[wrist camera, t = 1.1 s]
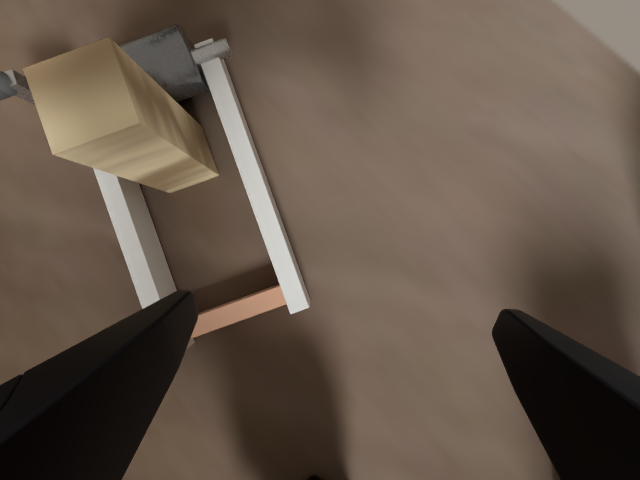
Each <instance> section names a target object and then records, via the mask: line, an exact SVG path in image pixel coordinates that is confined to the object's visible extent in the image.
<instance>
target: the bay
mask: <svg viewBox="0 0 640 480" xmlns="http://www.w3.org/2000/svg"><path fill="white" fill-rule="evenodd" d="M119 47H120V48H121V49H122V50H123V51H124V52H125V53H126V54H127V55H128V56H129V57H130V58H131V59H133V60H134V61H135V62H136V63H137V64H138V65H139V66H140V67H141V68H142V69H143V70H144V71H145V72H146V73H147V74H148V75H149V76H150V77H151V78H152V79H153V80H154V81H155V82H156V83H157V84H158V85H159V86H160V87H161V88H162V89H163V90H165V91H166V92H167V93H168V94H169V95H170V96H171V97H172V98H173V99H174V100H175V101H176V102H179V101H182V100H184V99H187V98H190V97H193V96H195V95H198V94H201V93H203V92H206V91H209V90H210V91H211V94H212V97H213V100H214V102H215V105H216V108H217V111H218V114H219V116H220V119H221V122H222V125H223V128H224V130H225V133H226V136H227V139H228V141H229V144H230V147H231V150H232V153H233V155H234V158H235V161H236V164H237V167H238V169H239V172H240V175H241V178H242V181H243V183H244V186H245V189H246V192H247V194H248V197H249V200H250V203H251V206H252V208H253V211H254V214H255V217H256V220H257V222H258V225H259V228H260V231H261V234H262V236H263V239H264V242H265V245H266V248H267V250H268V253H269V256H270V259H271V261H272V264H273V267H274V270H275V273H276V275H277V278H278V281H279V284H277V285H275V286H272V287H269V288H266V289H264V290H261V291H258V292H255V293H253V294H250V295H247V296H244V297H241V298H239V299H236V300H233V301H230V302H228V303H225V304H222V305H219V306H217V307H214V308H211V309H208V310H205V311H203V312H200V313H198V320H197V323H196V325H195V328H194V330H193V333H192V335H191V338H190V340H189V343H188V346H187V348H188V347H190V346H191V345H192V344H193V343H195V341H194V337H197V336H200V335H202V334H205V333H208V332H211V331H214V330H216V329H219V328H222V327H225V326H227V325H230V324H233V323H236V322H238V321H241V320H244V319H247V318H250V317H252V316H255V315H258V314H261V313H263V312H266V311H269V310H272V309H275V308H277V307H280V306H283V305H286V304H287V306H288V309H289V312H290V314H293V313H296V312H299V311H301V310H304V309H307V308H309V306H310V301H311V300H310V298H309V295H308V292H307V289H306V287H305V284H304V281H303V278H302V275H301V273H300V270H299V267H298V264H297V262H296V259H295V256H294V253H293V250H292V248H291V245H290V242H289V239H288V237H287V234H286V231H285V228H284V225H283V223H282V220H281V217H280V214H279V211H278V209H277V206H276V203H275V200H274V198H273V195H272V192H271V189H270V186H269V184H268V181H267V178H266V175H265V173H264V170H263V167H262V164H261V161H260V159H259V156H258V153H257V150H256V148H255V145H254V142H253V139H252V136H251V134H250V131H249V128H248V125H247V123H246V120H245V117H244V114H243V111H242V109H241V106H240V103H239V100H238V98H237V95H236V92H235V89H234V86H233V84H232V81H231V78H230V75H229V73H228V70H227V67H226V64H225V61H224V59H225V58H228V57H231V56H233V54H232V51H231V49H230V46H229V44H228V42H227V39H226V37H225V38H222V39H219V40H217V41H213V39H212V38H211V39H208V40H206V41H203V42H200V43H197V44H195V45H194V46H193V44H192V42H191V41H190V39H189V37H188V36H187V34H186V32H185V31H184V29H183V28H182V27H181V26H180V25H179V24H176V25H173V26H170V27H168V28H165V29H162V30H160V31H157V32H154V33H151V34H149V35H146V36H143V37H140V38H138V39H135V40H132V41H130V42H127V43H124V44H121V45H119ZM194 47H195V48H194ZM14 95H16V96H18V97H20V98H22V99H24V100H26V101H28V102H30V103H32V104H34V105H35V102H34V99H33V96H32V93H31V90H30V88H29V85H28V82H27V79H26V77H25V76H23V75H21V74H19V73H18V72H16V71H14V70H12V69H11V70H9V71H6V72H1V71H0V100H3V99H6V98H9V97H11V96H14ZM93 169H94V172H95V175H96V178H97V181H98V183H99V186H100V189H101V192H102V195H103V198H104V201H105V203H106V206H107V209H108V212H109V215H110V218H111V221H112V223H113V226H114V229H115V232H116V235H117V238H118V241H119V243H120V246H121V249H122V252H123V255H124V258H125V261H126V263H127V266H128V269H129V272H130V275H131V278H132V281H133V283H134V286H135V289H136V292H137V295H138V298H139V301H140V304H141V306H142V309H143V308H145V307H147V306H149V305H151V304H153V303H155V302H156V301H158V300H160V299H162V298H164V297H166V296H168V295H170V294H171V293H173V292H175V291H177V290H176V287H175V284H174V281H173V278H172V276H171V273H170V270H169V267H168V264H167V261H166V259H165V256H164V253H163V250H162V247H161V244H160V242H159V239H158V236H157V233H156V230H155V227H154V225H153V222H152V219H151V216H150V213H149V210H148V207H147V205H146V202H145V199H144V196H143V193H142V190H141V188H140V185H139V183H137V182H134V181H131V180H128V179H125V178H122V177H119V176H116V175H113V174H110V173H107V172H104V171H101V170H98V169H95V168H93ZM187 348H186V349H187Z"/></svg>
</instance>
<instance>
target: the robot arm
mask: <svg viewBox="0 0 640 480" xmlns="http://www.w3.org/2000/svg"><path fill="white" fill-rule="evenodd" d="M197 320H198V308H197V303H196V299H195V294H194V292H193V291H190V290H177V291H175V292H173V293H171V294H170V295H168V296H166V297H164V298H162V299H160V300H158V301H156V302H155V303H153V304H151V305H149V306H147V307H145V308H143V309H142V310H140V311H138V312H136V313H134V314H132V315H130V316H128V317H127V318H125V319H123V320H121V321H119V322H117V323H115V324H114V325H112V326H110V327H108V328H106V329H104V330H102V331H100V332H99V333H97V334H95V335H93V336H91V337H89V338H87V339H85V340H84V341H82V342H80V343H78V344H76V345H74V346H72V347H71V348H69V349H67V350H65V351H63V352H61V353H59V354H57V355H56V356H54V357H52V358H50V359H48V360H46V361H44V362H42V363H41V364H39V365H37V366H35V367H33V368H31V369H29V370H28V371H26V372H25V373H24V374H23V375H18V376H16V377H14V378H12V379H11V380H9V381H7V382H5V383H3V384H1V385H0V480H122V478H123V476H124V474H125V472H126V470H127V468H128V466H129V464H130V462H131V460H132V458H133V456H134V455H135V453H136V451H137V449H138V447H139V445H140V443H141V441H142V439H143V437H144V435H145V433H146V431H147V429H148V427H149V425H150V423H151V421H152V419H153V418H154V416H155V414H156V412H157V410H158V408H159V406H160V404H161V402H162V400H163V398H164V396H165V394H166V392H167V390H168V388H169V386H170V384H171V382H172V381H173V379H174V377H175V374H176V372H177V370H178V368H179V366H180V363H181V361H182V358H183V356H184V353H185V351H186V348H187V346H188V343H189V340H190V338H191V335H192V333H193V330H194V328H195V325H196V323H197ZM492 336H493V340H494V342H495V345H496V347H497V350H498V352H499V354H500V357H501V359H502V362H503V364H504V367H505V369H506V372H507V374H508V377H509V379H510V381H511V384H512V386H513V388H514V391H515V393H516V395H517V397H518V399H519V401H520V403H521V404H522V406H523V408H524V410H525V412H526V414H527V416H528V418H529V420H530V422H531V424H532V426H533V428H534V430H535V431H536V433H537V435H538V437H539V439H540V441H541V443H542V445H543V447H544V449H545V451H546V453H547V455H548V457H549V458H550V460H551V462H552V464H553V466H554V468H555V470H556V472H557V474H558V476H559V478H560V480H640V376H638V375H636V374H634V373H632V372H631V371H629V370H627V369H625V368H623V367H622V366H620V365H618V364H616V363H614V362H613V361H611V360H609V359H607V358H605V357H604V356H602V355H600V354H598V353H596V352H595V351H593V350H591V349H589V348H587V347H586V346H584V345H582V344H580V343H578V342H577V341H575V340H573V339H571V338H569V337H568V336H566V335H564V334H562V333H560V332H559V331H557V330H555V329H553V328H551V327H550V326H548V325H546V324H544V323H542V322H541V321H539V320H537V319H535V318H533V317H532V316H530V315H528V314H526V313H524V312H522V311H521V310H517V309H503V310H502V311H501V312H500V314H499V316H498V318H497V320H496V323H495V325H494V327H493V329H492ZM308 480H320V479H319V478H318V477H316V476H311V477H310V478H309V479H308Z"/></svg>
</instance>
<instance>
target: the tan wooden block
mask: <svg viewBox="0 0 640 480" xmlns="http://www.w3.org/2000/svg"><path fill="white" fill-rule="evenodd" d="M23 70H24V73H25V76H26V79H27V82H28V85H29V88H30V90H31V93H32V96H33V99H34V102H35V105H36V108H37V111H38V113H39V116H40V119H41V122H42V125H43V128H44V131H45V134H46V137H47V139H48V142H49V145H50V148H51V151H52V154H53V155H55V156H58V157H61V158H64V159H67V160H70V161H74V162H77V163H80V164H83V165H86V166H89V167H92V168H95V169H98V170H101V171H104V172H107V173H110V174H113V175H116V176H119V177H122V178H125V179H128V180H131V181H134V182H137V183H140V184H143V185H146V186H149V187H152V188H155V189H158V190H162V191H165V192H168V193H173V192H176V191H178V190H181V189H184V188H187V187H189V186H192V185H195V184H198V183H200V182H203V181H206V180H209V179H211V178H214V177H217V176H219V173H218V170H217V167H216V165H215V162H214V159H213V156H212V153H211V151H210V148H209V145H208V142H207V139H206V137H205V134H204V131H203V128H202V126H201V125H200V124H199V123H198V122H196V121H195V120H194V119H193V118H192V117H191V116H190V115H189V114H188V113H187V112H186V111H185V110H184V109H183V108H182V107H181V106H180V105H179V104H178V103H177V102H176V101H175V100H174V99H173V98H172V97H171V96H170V95H169V94H168V93H167V92H166V91H165V90H163V89H162V88H161V87H160V86H159V85H158V84H157V83H156V82H155V81H154V80H153V79H152V78H151V77H150V76H149V75H148V74H147V73H146V72H145V71H144V70H143V69H142V68H141V67H140V66H139V65H138V64H137V63H136V62H135V61H134V60H133V59H131V58H130V57H129V56H128V55H127V54H126V53H125V52H124V51H123V50H122V49H121V48H120V47H119V46H118V45H117V44H116V43H115V42H114V41H113V40H112V39H111V38H110V37H108V38H105V39H102V40H99V41H97V42H94V43H91V44H89V45H86V46H83V47H80V48H78V49H75V50H72V51H69V52H67V53H64V54H61V55H58V56H56V57H53V58H50V59H48V60H45V61H42V62H39V63H37V64H34V65H31V66H28V67H26V68H23Z"/></svg>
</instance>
